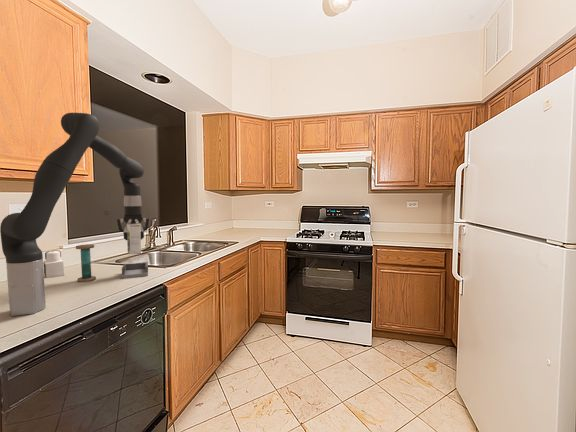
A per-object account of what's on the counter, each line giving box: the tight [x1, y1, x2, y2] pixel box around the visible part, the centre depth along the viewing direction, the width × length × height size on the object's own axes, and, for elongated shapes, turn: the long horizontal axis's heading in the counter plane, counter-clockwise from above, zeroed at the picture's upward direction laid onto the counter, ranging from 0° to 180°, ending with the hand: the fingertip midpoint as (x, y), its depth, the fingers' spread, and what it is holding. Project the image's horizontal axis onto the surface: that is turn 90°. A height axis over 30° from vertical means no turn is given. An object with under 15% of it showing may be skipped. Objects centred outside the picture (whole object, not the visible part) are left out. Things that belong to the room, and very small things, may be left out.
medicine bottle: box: [43, 250, 66, 279], centre depth 143 cm, size 7×7×12 cm
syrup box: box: [126, 223, 142, 255], centre depth 144 cm, size 6×6×14 cm
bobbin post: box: [75, 243, 97, 283], centre depth 135 cm, size 7×7×16 cm
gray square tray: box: [121, 261, 149, 279], centre depth 145 cm, size 11×11×4 cm
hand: (134, 239), depth 144 cm, fingers closed on syrup box, 6 cm apart
